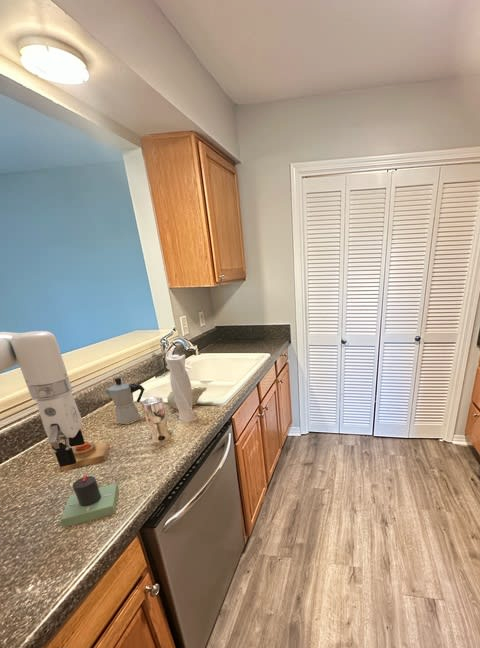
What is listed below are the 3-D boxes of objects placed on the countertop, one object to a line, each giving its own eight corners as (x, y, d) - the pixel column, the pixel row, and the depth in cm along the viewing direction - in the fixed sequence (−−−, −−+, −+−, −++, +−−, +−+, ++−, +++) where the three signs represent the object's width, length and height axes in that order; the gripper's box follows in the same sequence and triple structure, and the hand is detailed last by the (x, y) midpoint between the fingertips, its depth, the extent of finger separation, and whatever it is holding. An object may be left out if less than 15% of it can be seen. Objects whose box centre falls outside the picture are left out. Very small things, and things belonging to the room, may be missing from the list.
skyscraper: (174, 419, 130) (159, 351, 119) (192, 413, 135) (179, 347, 124) (182, 425, 125) (168, 354, 114) (200, 419, 129) (188, 350, 118)
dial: (99, 503, 80) (92, 483, 78) (77, 508, 79) (69, 489, 77) (102, 491, 85) (96, 473, 82) (81, 496, 83) (74, 478, 81)
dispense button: (75, 452, 102) (74, 447, 101) (78, 447, 105) (76, 442, 104) (88, 450, 103) (87, 445, 102) (90, 444, 106) (89, 440, 106)
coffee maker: (108, 427, 126) (95, 383, 120) (115, 417, 134) (103, 376, 128) (149, 421, 129) (138, 379, 123) (153, 413, 137) (143, 372, 130)
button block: (61, 471, 99) (57, 460, 98) (68, 455, 108) (64, 445, 106) (105, 461, 103) (102, 450, 102) (109, 446, 112) (106, 436, 110)
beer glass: (169, 443, 112) (160, 403, 107) (148, 445, 111) (138, 405, 106) (173, 433, 119) (165, 395, 113) (153, 435, 118) (144, 398, 112)
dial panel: (63, 528, 76) (59, 519, 75) (72, 502, 85) (69, 494, 84) (115, 513, 80) (112, 505, 79) (119, 490, 89) (116, 482, 88)
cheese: (163, 416, 138) (178, 400, 129) (159, 401, 140) (174, 384, 131) (195, 415, 150) (211, 399, 141) (191, 401, 152) (206, 385, 143)
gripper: (60, 398, 66) (84, 469, 72) (78, 375, 81) (96, 435, 87) (15, 404, 63) (43, 477, 70) (42, 379, 78) (64, 441, 85)
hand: (73, 454), depth 78 cm, fingers open, 9 cm apart
